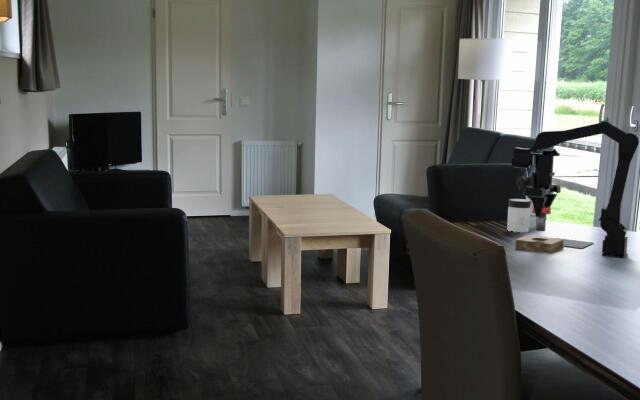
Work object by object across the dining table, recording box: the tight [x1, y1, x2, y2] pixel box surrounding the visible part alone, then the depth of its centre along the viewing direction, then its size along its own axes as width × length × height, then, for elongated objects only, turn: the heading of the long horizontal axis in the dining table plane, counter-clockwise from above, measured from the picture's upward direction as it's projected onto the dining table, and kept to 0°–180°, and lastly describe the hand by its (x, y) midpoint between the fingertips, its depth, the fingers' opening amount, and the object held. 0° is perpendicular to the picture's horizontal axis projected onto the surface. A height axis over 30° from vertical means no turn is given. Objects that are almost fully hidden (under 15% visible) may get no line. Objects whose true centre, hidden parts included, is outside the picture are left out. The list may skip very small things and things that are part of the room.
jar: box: [506, 198, 531, 233], centre depth 267 cm, size 9×8×12 cm
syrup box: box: [525, 196, 536, 229], centre depth 275 cm, size 6×6×14 cm
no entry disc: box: [532, 205, 552, 232], centre depth 232 cm, size 6×6×8 cm
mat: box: [557, 237, 594, 250], centre depth 242 cm, size 13×13×1 cm
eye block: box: [514, 234, 565, 254], centre depth 233 cm, size 12×12×3 cm
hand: (541, 215), depth 232 cm, fingers closed on no entry disc, 6 cm apart
